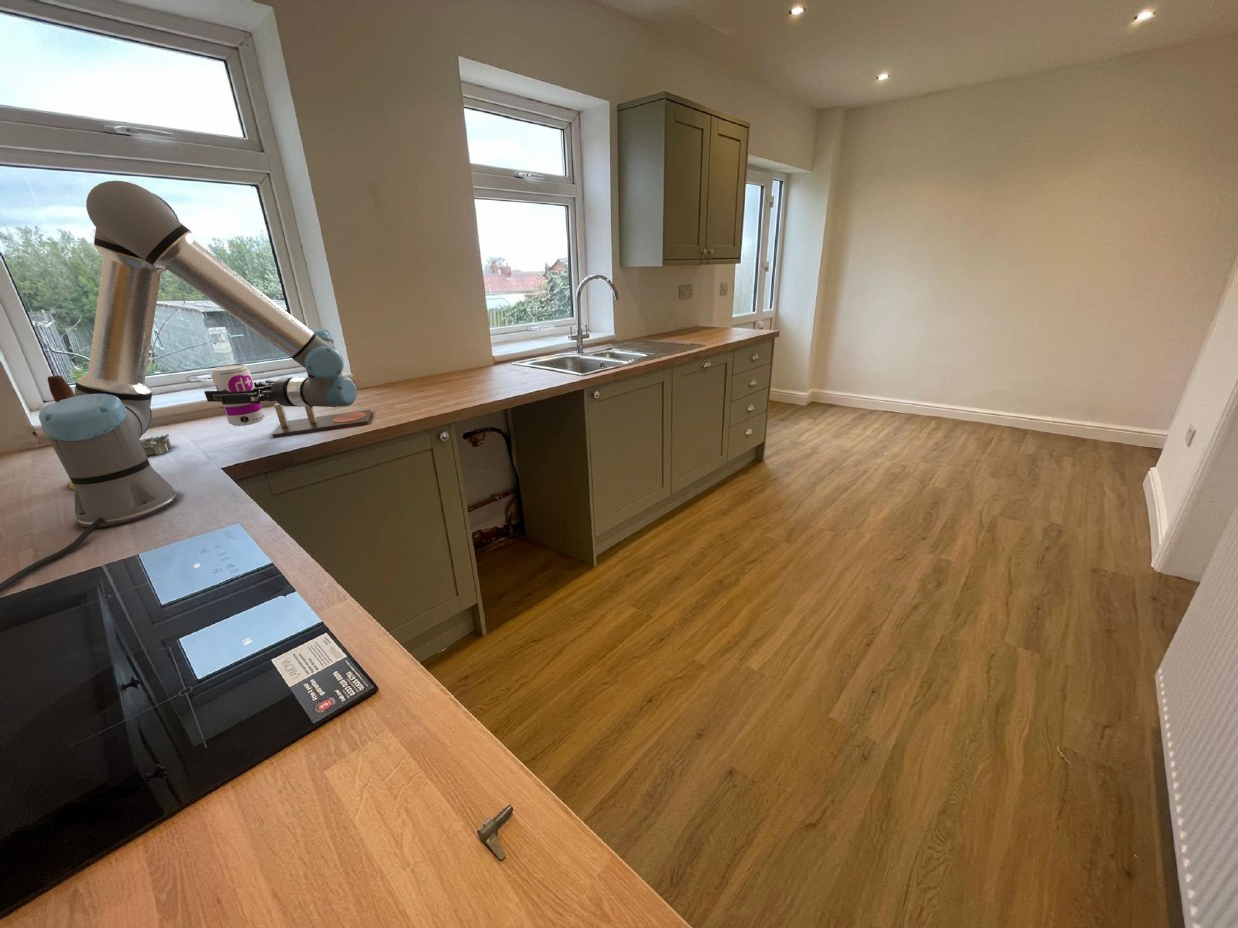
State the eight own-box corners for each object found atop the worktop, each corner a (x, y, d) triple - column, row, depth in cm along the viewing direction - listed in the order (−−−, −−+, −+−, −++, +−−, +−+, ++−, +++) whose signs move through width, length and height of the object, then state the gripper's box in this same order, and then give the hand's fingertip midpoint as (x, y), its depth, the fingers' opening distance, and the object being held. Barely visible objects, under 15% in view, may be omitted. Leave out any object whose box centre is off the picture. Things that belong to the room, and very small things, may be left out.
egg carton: (116, 461, 131) (109, 447, 130) (129, 452, 138) (122, 438, 136) (166, 453, 135) (159, 439, 133) (176, 445, 141) (170, 431, 140)
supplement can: (271, 419, 138) (253, 365, 132) (237, 428, 132) (217, 372, 126) (257, 415, 142) (239, 363, 136) (224, 424, 136) (203, 369, 130)
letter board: (368, 423, 151) (361, 398, 148) (273, 437, 144) (264, 410, 141) (371, 412, 163) (365, 388, 159) (283, 424, 155) (275, 399, 152)
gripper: (269, 418, 123) (190, 417, 126) (328, 395, 142) (258, 394, 145) (259, 388, 120) (179, 388, 123) (320, 368, 139) (250, 369, 143)
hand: (222, 391), depth 134 cm, fingers closed on supplement can, 8 cm apart
